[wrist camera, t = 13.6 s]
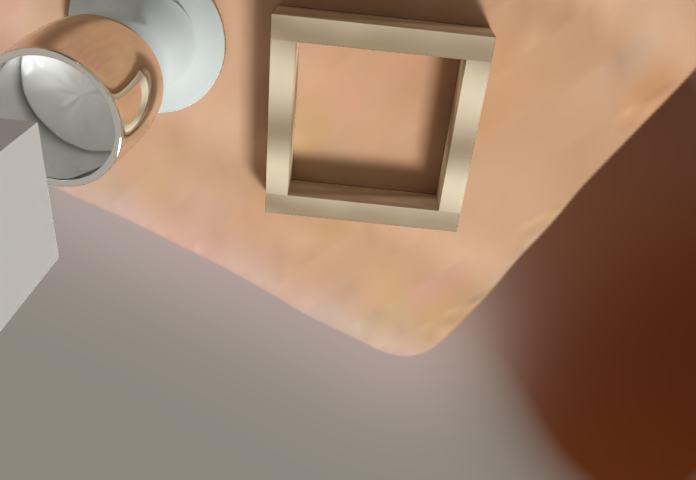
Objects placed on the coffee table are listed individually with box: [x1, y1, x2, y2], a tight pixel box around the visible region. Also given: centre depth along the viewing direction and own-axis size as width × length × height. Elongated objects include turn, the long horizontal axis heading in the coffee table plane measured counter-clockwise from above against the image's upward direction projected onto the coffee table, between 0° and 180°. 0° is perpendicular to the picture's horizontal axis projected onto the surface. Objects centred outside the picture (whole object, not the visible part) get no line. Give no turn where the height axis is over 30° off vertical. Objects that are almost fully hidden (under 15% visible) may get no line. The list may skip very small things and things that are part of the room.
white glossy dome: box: [68, 0, 226, 113], centre depth 43 cm, size 10×10×1 cm
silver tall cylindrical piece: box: [0, 0, 196, 187], centre depth 36 cm, size 7×7×15 cm
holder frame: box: [265, 5, 496, 232], centre depth 44 cm, size 14×14×2 cm
